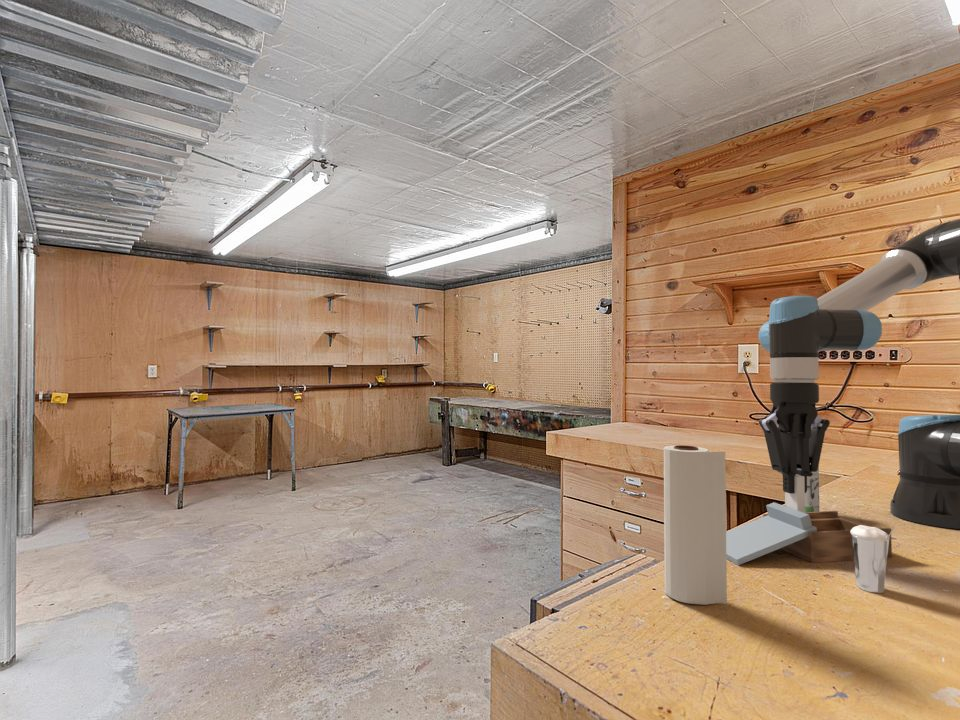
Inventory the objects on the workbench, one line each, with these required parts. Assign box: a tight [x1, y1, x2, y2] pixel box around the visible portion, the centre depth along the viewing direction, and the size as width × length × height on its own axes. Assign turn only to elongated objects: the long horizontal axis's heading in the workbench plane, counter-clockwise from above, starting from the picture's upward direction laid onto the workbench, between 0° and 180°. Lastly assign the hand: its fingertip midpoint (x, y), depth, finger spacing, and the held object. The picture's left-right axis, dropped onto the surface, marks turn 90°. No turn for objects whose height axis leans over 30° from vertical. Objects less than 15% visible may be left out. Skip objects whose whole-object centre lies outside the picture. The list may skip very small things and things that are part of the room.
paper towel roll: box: [663, 444, 728, 606], centre depth 69 cm, size 7×6×21 cm
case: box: [762, 510, 893, 564], centre depth 89 cm, size 16×11×5 cm
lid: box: [726, 501, 818, 566], centre depth 86 cm, size 16×9×3 cm, turn 99°
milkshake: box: [850, 524, 895, 594], centre depth 72 cm, size 4×5×10 cm
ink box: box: [784, 465, 820, 512], centre depth 111 cm, size 9×5×12 cm, turn 131°
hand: (795, 510), depth 88 cm, fingers closed
